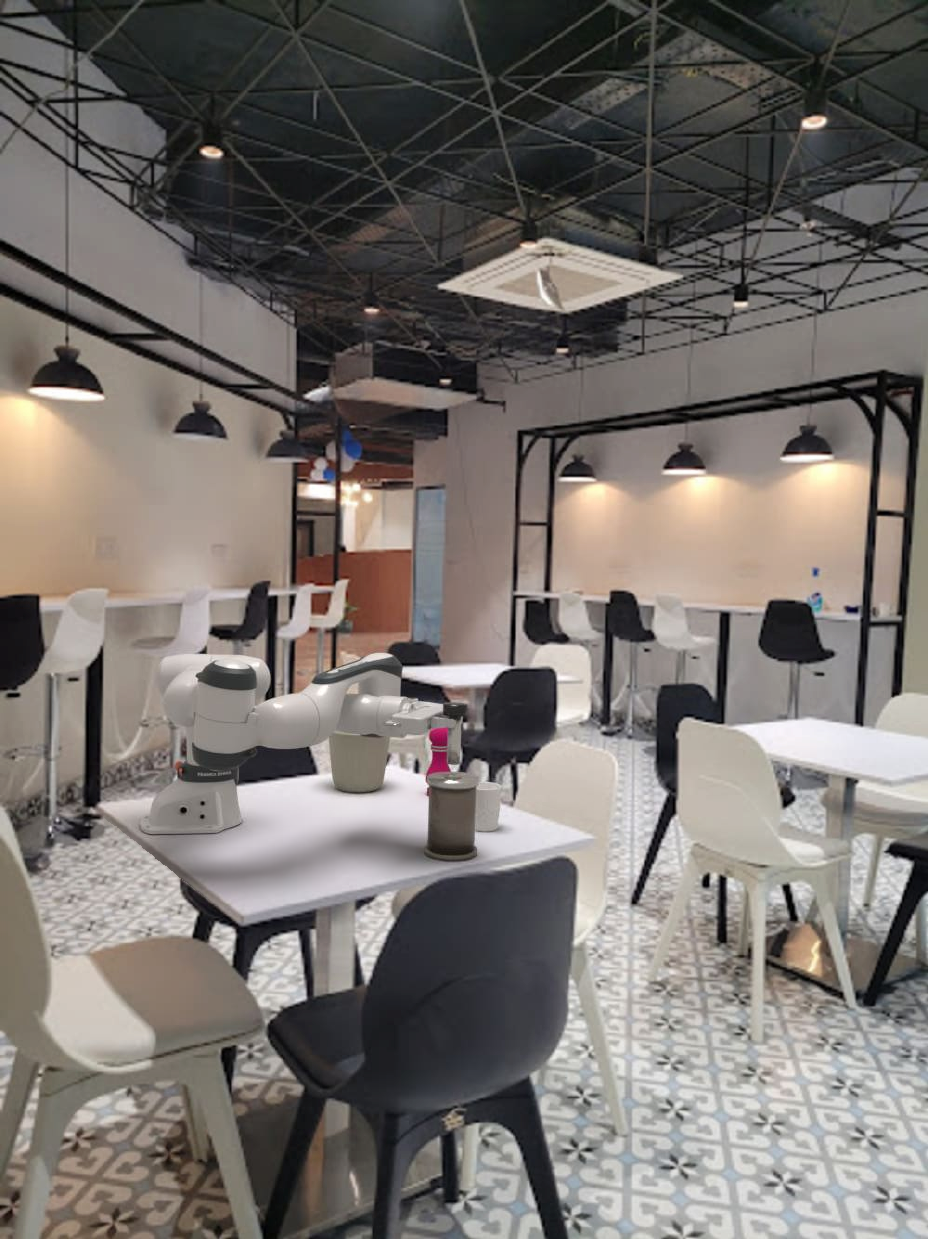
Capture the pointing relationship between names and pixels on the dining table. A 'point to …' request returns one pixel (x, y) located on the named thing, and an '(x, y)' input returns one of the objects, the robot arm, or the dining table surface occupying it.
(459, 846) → the grey thread spool
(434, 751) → the pepper mill
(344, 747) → the canister
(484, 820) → the white cup
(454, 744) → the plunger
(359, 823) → the dining table surface
